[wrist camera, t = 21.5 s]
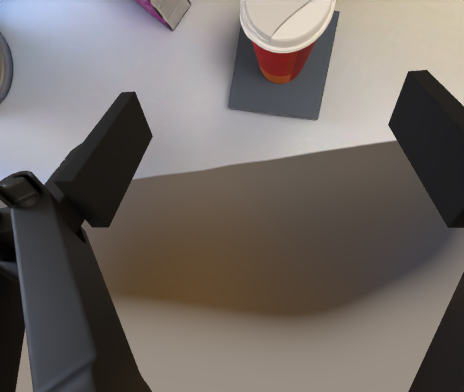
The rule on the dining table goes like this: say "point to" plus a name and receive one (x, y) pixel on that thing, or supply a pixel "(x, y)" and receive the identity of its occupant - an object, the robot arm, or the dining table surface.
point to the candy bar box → (166, 10)
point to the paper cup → (284, 33)
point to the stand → (288, 94)
